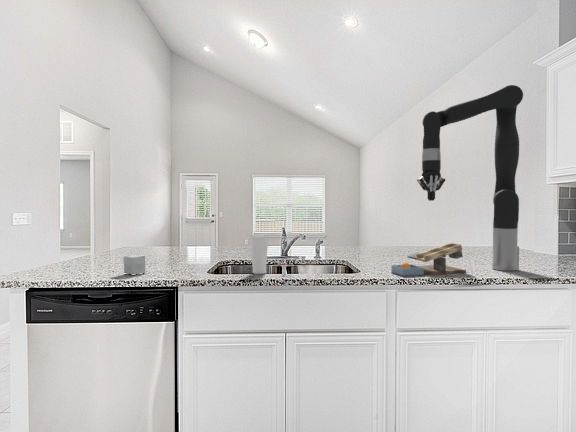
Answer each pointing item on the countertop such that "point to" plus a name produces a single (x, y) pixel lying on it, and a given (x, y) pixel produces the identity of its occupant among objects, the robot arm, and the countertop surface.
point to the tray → (407, 270)
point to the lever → (439, 253)
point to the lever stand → (440, 268)
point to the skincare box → (134, 264)
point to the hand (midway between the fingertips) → (431, 200)
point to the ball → (405, 265)
